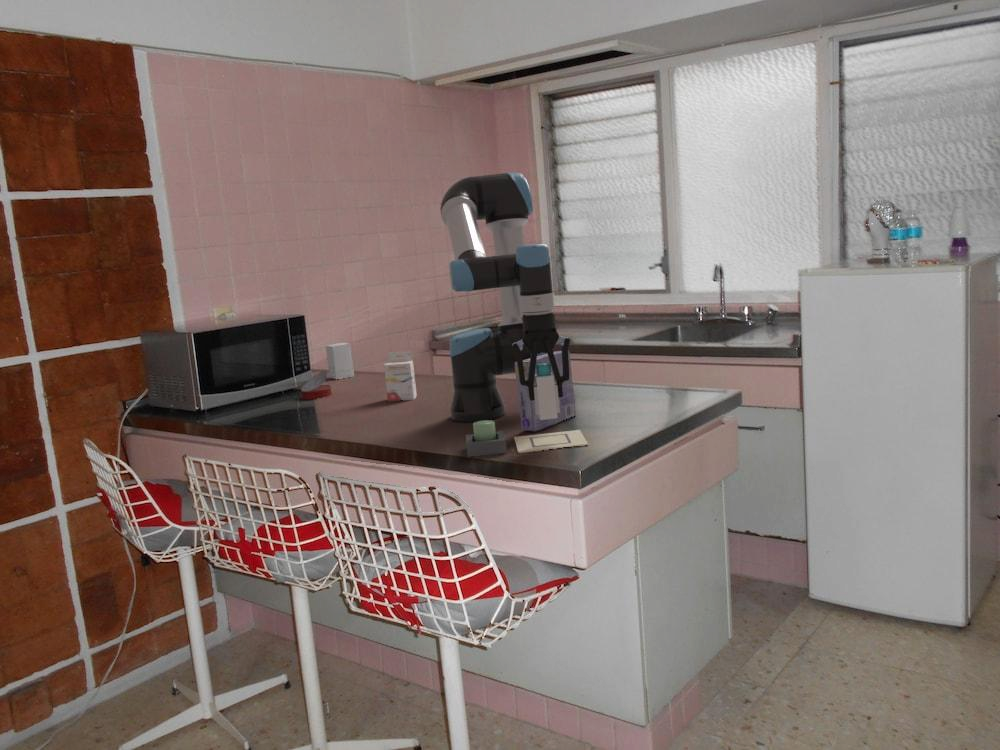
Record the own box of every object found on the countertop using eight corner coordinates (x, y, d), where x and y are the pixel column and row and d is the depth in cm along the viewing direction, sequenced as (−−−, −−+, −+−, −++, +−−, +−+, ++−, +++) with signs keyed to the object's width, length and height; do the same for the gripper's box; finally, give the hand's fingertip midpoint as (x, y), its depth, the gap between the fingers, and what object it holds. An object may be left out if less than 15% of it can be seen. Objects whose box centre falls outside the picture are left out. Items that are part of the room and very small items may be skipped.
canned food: (330, 410, 298) (326, 387, 291) (300, 410, 298) (295, 387, 292) (335, 389, 307) (332, 366, 300) (306, 389, 307) (302, 366, 301)
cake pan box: (563, 414, 237) (558, 348, 234) (579, 415, 234) (573, 348, 230) (519, 431, 222) (512, 362, 219) (535, 433, 219) (528, 362, 216)
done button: (474, 440, 210) (472, 421, 209) (495, 438, 210) (494, 419, 209) (475, 445, 205) (473, 426, 204) (496, 443, 205) (494, 424, 204)
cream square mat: (514, 438, 216) (514, 436, 216) (580, 431, 216) (579, 429, 216) (518, 453, 202) (518, 451, 202) (588, 445, 202) (588, 443, 202)
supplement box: (355, 376, 333) (350, 343, 331) (336, 380, 329) (331, 346, 327) (347, 374, 339) (343, 342, 337) (329, 378, 336) (324, 345, 333)
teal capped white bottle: (538, 416, 210) (533, 364, 208) (555, 414, 210) (550, 362, 208) (540, 420, 206) (535, 366, 204) (557, 418, 206) (552, 364, 204)
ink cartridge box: (387, 402, 278) (381, 355, 275) (390, 398, 283) (385, 352, 280) (414, 399, 277) (408, 353, 274) (417, 396, 282) (412, 350, 279)
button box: (467, 447, 212) (465, 435, 211) (504, 443, 212) (503, 430, 212) (467, 457, 203) (466, 444, 203) (506, 452, 203) (505, 440, 203)
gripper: (501, 318, 200) (512, 419, 204) (577, 310, 200) (586, 411, 204) (500, 315, 207) (510, 413, 211) (573, 307, 208) (581, 405, 212)
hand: (547, 412), depth 208 cm, fingers closed on teal capped white bottle, 4 cm apart
